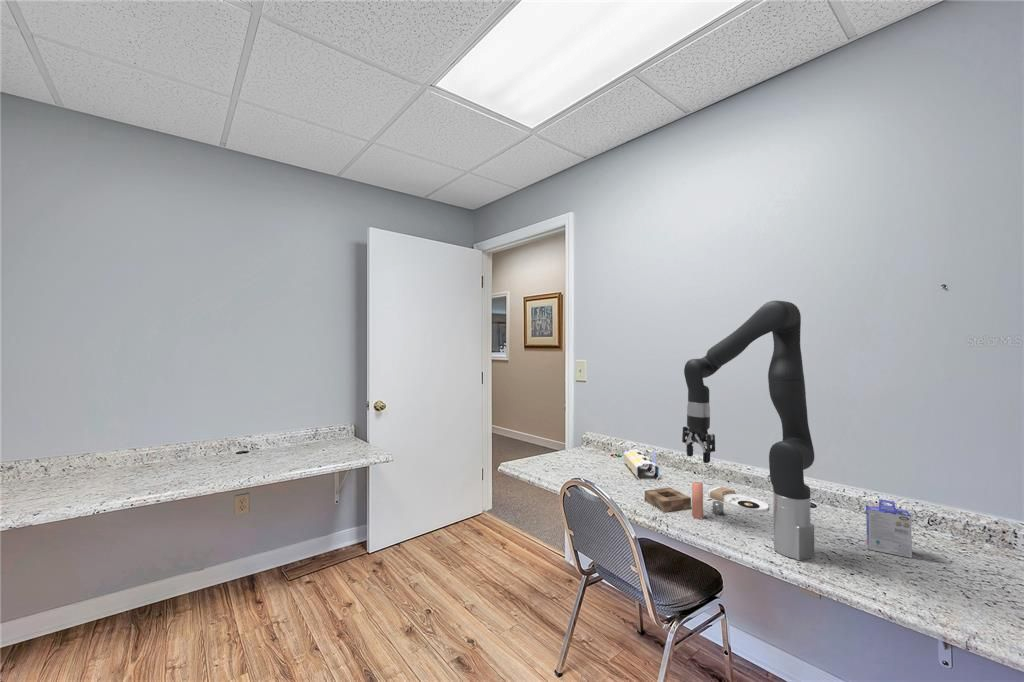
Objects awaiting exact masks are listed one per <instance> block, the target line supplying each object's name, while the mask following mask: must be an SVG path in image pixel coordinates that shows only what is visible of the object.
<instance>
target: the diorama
mask: <svg viewBox="0 0 1024 682" xmlns="http://www.w3.org/2000/svg"><path fill="white" fill-rule="evenodd" d="M652 450H653V451H652V459H651V458H650V457H648V456H647V454H646V453H644V451H641V450H639V449H637V448H635V449H634V448H633V449H631V448H630V449H628V450H625V451H623V462H624V463H625V465H626V464H627V465H626V466H627V467H628V469H629V468H630V469H631V470H632V471H631V470H630V469H629V470H630V471H631V472H632V473H633V475H634V474H635V475H634V476H635V477H636V479H637V480H639V481H640V480H641V479H640V477H639V476H638V468H639V467H644V466H647V465H648V467H647V468H646V470H648V471H649V472H652V471H653V470H654V474H653V475H652V476H654V477H655V478H654V477H653V478H654V479H655V480H656V479H657V480H658V479H659V478H660V467H659V466H658V465H657V464H658V463H657V455H656V451H655V449H652ZM648 471H647V472H648ZM649 472H648V473H649Z"/></svg>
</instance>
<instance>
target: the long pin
mask: <svg viewBox="0 0 1024 682" xmlns="http://www.w3.org/2000/svg"><path fill="white" fill-rule="evenodd" d="M692 516H693V517H694V519H696V518H698V519H697V520H702V519H701V518H703V519H704V484H703V483H702V482H698V481H693V482H691V517H692ZM693 517H692V518H693Z"/></svg>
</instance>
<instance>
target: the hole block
mask: <svg viewBox="0 0 1024 682" xmlns="http://www.w3.org/2000/svg"><path fill="white" fill-rule="evenodd" d="M646 501H647V502H648V504H649V503H650V505H651V504H652V505H653V506H652V505H651V506H652V507H654V506H655V507H654V508H656V507H657V508H658V509H657V508H656V509H657V510H659V509H660V510H659V511H661V510H662V511H663V512H662V511H661V512H662V513H668V512H667V511H671V512H676V511H675V510H678V511H683V510H682V509H685V510H690V508H691V509H692V497H690V496H688V495H686V494H684V493H682V492H680V491H678V490H676V489H674V488H672V487H663V488H655V489H646V490H644V502H646ZM647 502H646V503H647Z"/></svg>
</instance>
